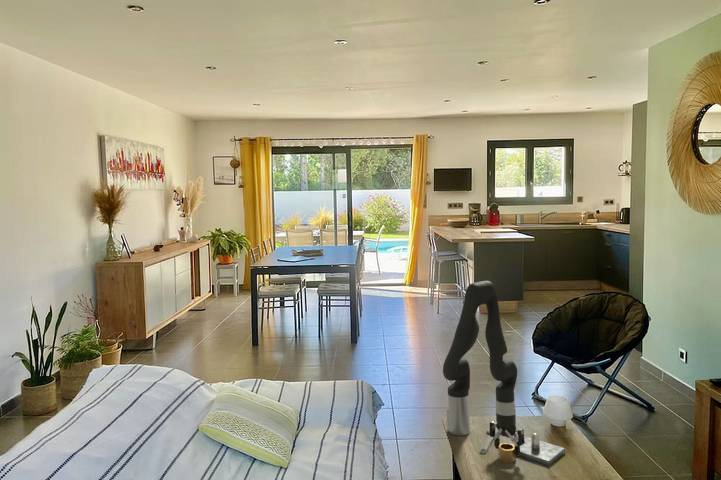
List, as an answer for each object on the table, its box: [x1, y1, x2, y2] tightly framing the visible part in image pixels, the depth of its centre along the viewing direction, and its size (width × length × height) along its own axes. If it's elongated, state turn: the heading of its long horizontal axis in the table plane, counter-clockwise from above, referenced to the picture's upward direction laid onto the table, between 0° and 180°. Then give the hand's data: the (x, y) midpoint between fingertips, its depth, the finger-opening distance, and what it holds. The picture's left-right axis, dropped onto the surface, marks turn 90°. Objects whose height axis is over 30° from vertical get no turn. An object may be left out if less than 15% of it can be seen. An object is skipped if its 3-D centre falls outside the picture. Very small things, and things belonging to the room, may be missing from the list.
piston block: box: [511, 432, 566, 467], centre depth 215 cm, size 18×14×8 cm
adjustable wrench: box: [479, 426, 498, 455], centre depth 228 cm, size 25×6×2 cm, turn 148°
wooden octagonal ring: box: [497, 442, 517, 464], centre depth 211 cm, size 6×6×5 cm
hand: (507, 451), depth 210 cm, fingers open, 8 cm apart
